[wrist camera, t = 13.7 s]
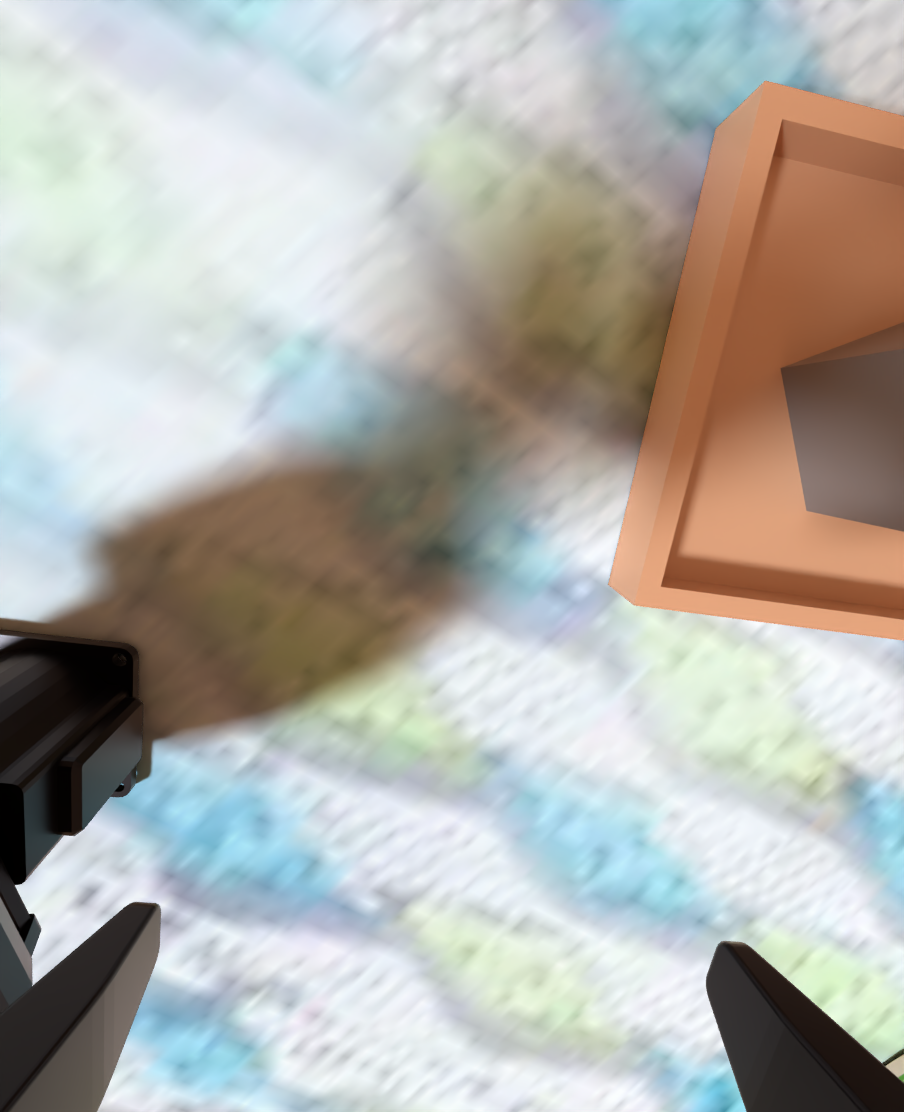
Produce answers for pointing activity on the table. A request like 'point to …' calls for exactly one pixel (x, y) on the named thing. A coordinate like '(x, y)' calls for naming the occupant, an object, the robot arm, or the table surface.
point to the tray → (769, 373)
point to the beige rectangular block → (851, 428)
